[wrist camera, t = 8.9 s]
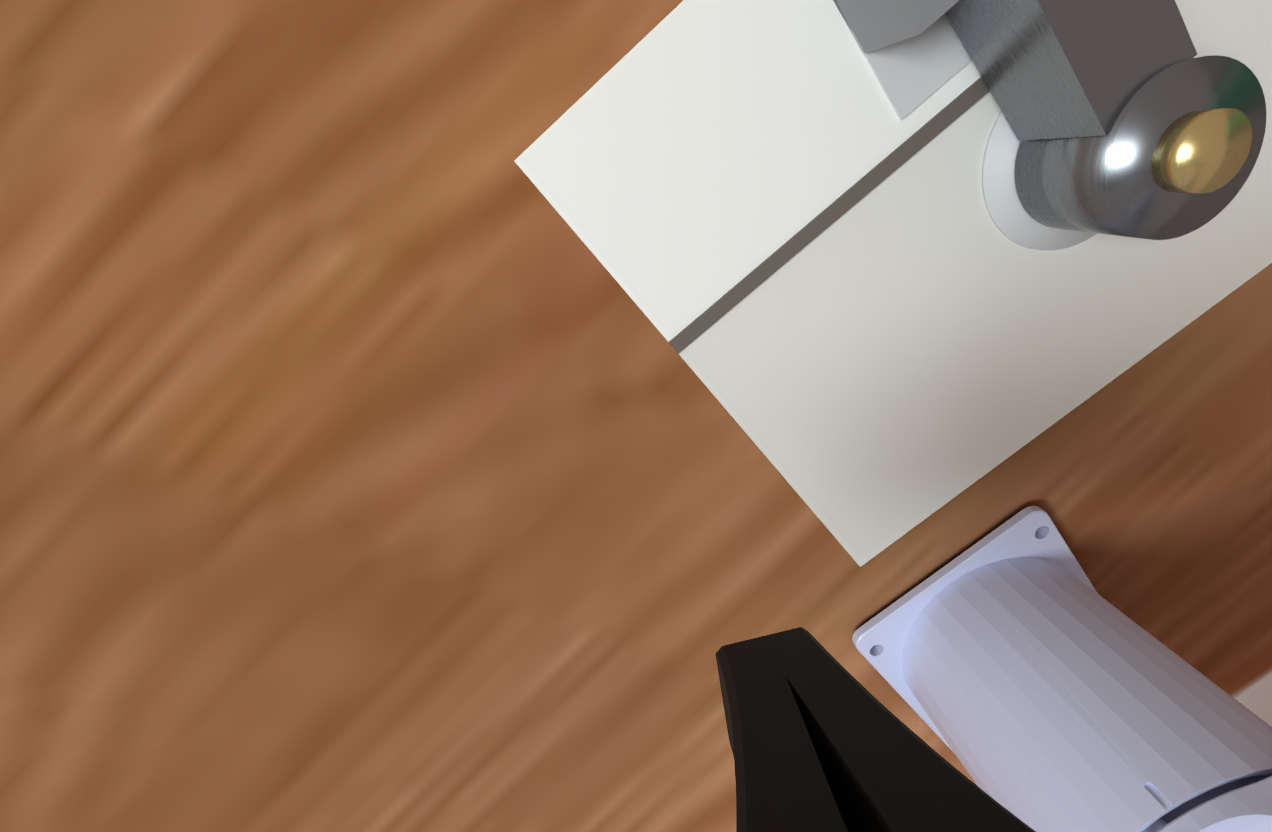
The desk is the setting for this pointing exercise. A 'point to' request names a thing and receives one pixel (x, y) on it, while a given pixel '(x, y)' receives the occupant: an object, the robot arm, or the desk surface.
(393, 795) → the desk surface
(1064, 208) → the bar
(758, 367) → the door board
